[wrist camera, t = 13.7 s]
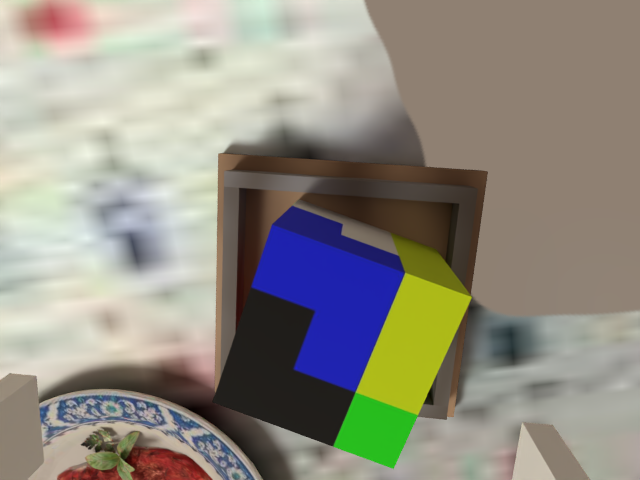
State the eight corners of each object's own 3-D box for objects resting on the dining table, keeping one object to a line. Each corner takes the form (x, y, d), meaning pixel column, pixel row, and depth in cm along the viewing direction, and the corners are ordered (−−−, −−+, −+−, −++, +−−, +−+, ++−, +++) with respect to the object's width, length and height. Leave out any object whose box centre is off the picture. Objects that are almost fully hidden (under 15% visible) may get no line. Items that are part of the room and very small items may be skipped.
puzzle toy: (298, 199, 31) (271, 224, 21) (436, 249, 31) (471, 297, 21) (254, 326, 33) (212, 402, 24) (383, 373, 33) (393, 468, 24)
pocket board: (218, 385, 36) (206, 407, 33) (222, 153, 32) (209, 154, 29) (450, 409, 34) (459, 433, 32) (483, 170, 31) (496, 173, 28)
